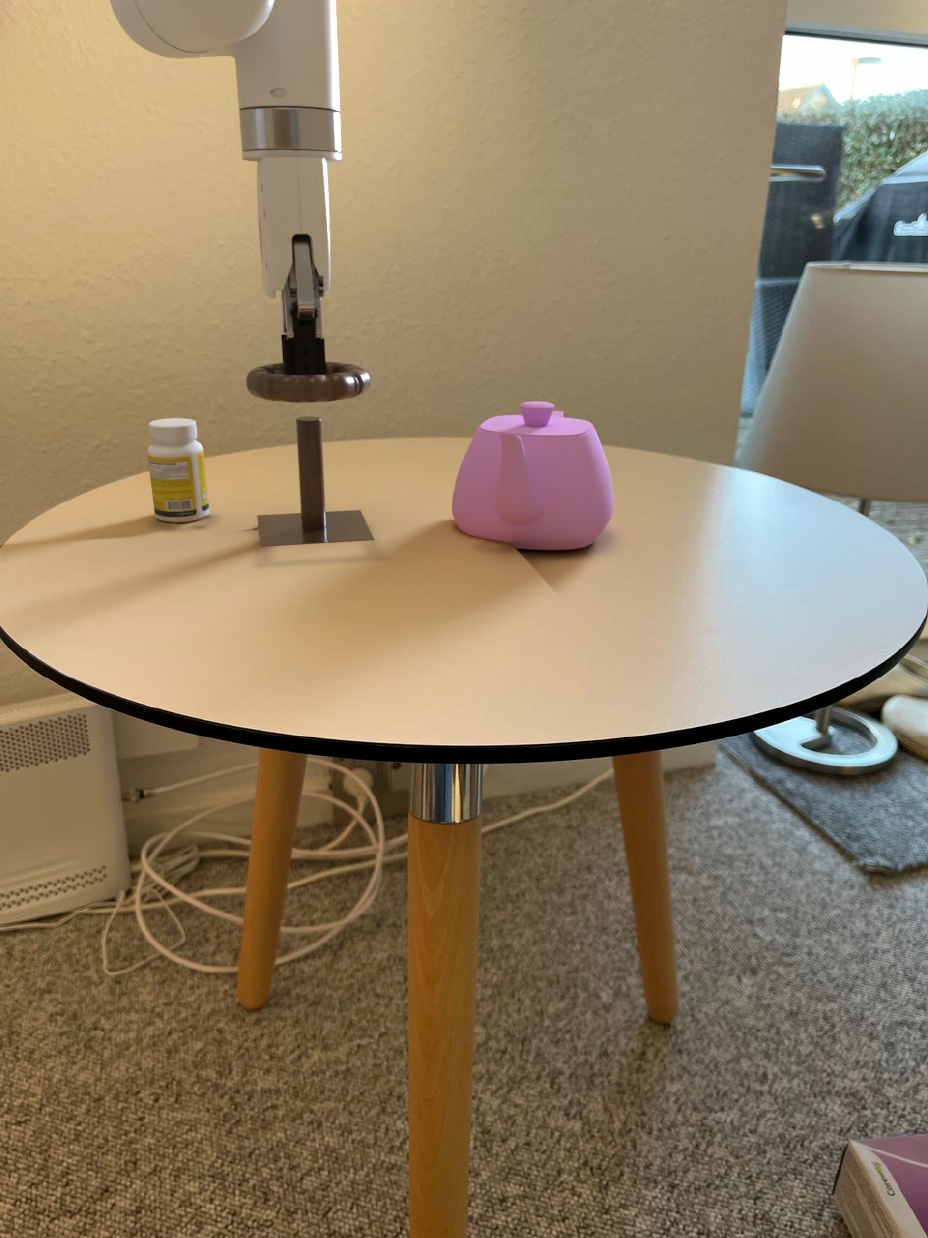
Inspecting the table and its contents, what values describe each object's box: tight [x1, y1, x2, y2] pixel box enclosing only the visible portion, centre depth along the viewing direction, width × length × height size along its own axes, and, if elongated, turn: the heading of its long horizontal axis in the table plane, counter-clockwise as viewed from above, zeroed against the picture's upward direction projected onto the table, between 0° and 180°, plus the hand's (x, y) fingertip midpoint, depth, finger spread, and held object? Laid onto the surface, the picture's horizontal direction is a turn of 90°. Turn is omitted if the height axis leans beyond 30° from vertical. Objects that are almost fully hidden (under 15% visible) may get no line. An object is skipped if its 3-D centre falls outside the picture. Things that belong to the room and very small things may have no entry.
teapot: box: [451, 400, 614, 551], centre depth 81 cm, size 13×20×11 cm
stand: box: [256, 415, 376, 548], centre depth 80 cm, size 9×9×10 cm
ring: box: [245, 361, 371, 404], centre depth 78 cm, size 10×10×2 cm
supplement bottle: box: [146, 417, 210, 523], centre depth 86 cm, size 5×5×8 cm
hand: (305, 384), depth 81 cm, fingers closed on ring, 2 cm apart
